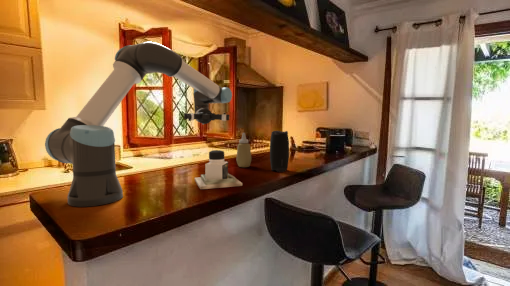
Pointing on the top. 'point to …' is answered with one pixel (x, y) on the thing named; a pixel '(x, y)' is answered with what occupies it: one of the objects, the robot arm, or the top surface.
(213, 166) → the medicine bottle
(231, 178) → the collar tray
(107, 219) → the top surface
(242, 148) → the squeeze bottle
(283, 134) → the portable speaker
